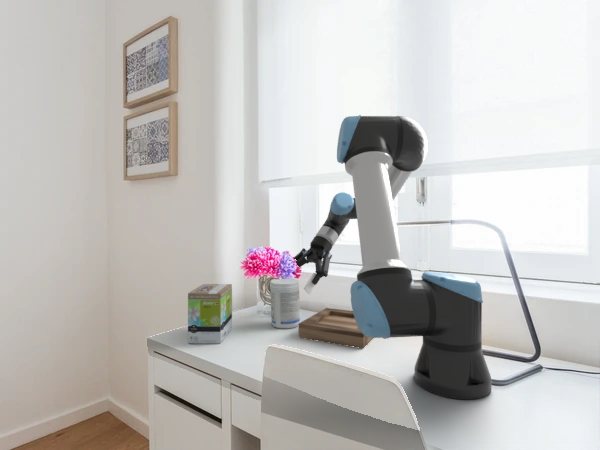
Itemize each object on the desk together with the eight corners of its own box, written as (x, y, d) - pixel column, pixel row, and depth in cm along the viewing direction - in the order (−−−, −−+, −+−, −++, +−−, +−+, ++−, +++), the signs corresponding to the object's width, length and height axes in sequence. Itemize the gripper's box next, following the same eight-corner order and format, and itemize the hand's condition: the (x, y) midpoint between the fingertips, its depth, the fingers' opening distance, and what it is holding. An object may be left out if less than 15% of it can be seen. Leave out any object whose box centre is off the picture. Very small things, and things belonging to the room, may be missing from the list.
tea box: (222, 344, 102) (221, 292, 101) (187, 344, 102) (185, 293, 102) (233, 327, 117) (232, 282, 116) (202, 327, 117) (201, 283, 117)
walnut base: (363, 348, 96) (363, 333, 96) (298, 337, 106) (298, 323, 106) (383, 327, 114) (383, 314, 114) (326, 319, 124) (326, 307, 124)
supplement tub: (304, 322, 121) (303, 279, 121) (292, 330, 112) (292, 284, 112) (279, 319, 125) (278, 277, 125) (265, 327, 116) (265, 282, 116)
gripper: (354, 250, 124) (324, 300, 114) (306, 246, 143) (277, 289, 133) (344, 235, 120) (312, 286, 111) (296, 233, 139) (265, 276, 130)
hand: (293, 288), depth 122 cm, fingers open, 13 cm apart
